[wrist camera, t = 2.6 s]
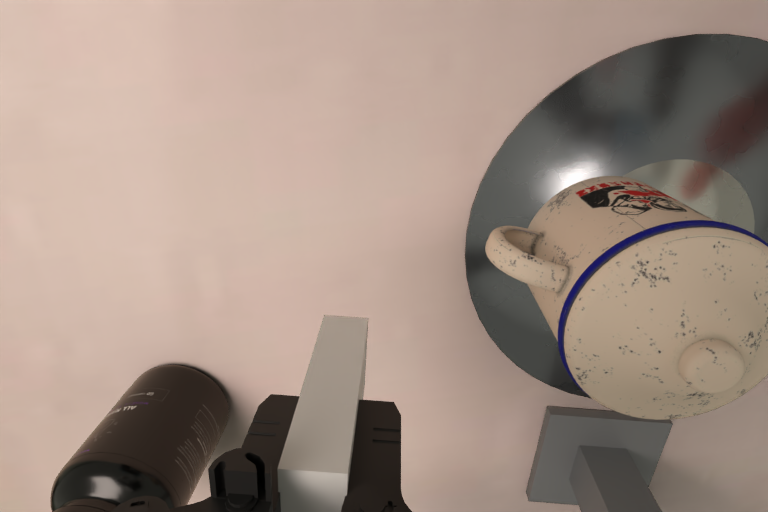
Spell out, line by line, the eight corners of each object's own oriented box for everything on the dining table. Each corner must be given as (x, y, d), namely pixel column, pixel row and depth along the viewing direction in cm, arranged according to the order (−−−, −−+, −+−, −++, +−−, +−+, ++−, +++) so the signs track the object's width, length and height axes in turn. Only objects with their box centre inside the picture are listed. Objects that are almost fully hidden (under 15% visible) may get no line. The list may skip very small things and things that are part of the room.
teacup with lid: (711, 198, 26) (929, 301, 15) (629, 334, 29) (758, 495, 19) (504, 130, 25) (580, 190, 14) (445, 279, 28) (470, 417, 18)
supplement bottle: (146, 345, 31) (6, 504, 20) (244, 383, 32) (161, 554, 21) (124, 418, 34) (-11, 594, 23) (215, 451, 35) (127, 635, 24)
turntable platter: (496, 19, 23) (496, 19, 23) (956, 49, 23) (961, 49, 23) (445, 386, 32) (445, 388, 32) (777, 411, 31) (779, 413, 31)
